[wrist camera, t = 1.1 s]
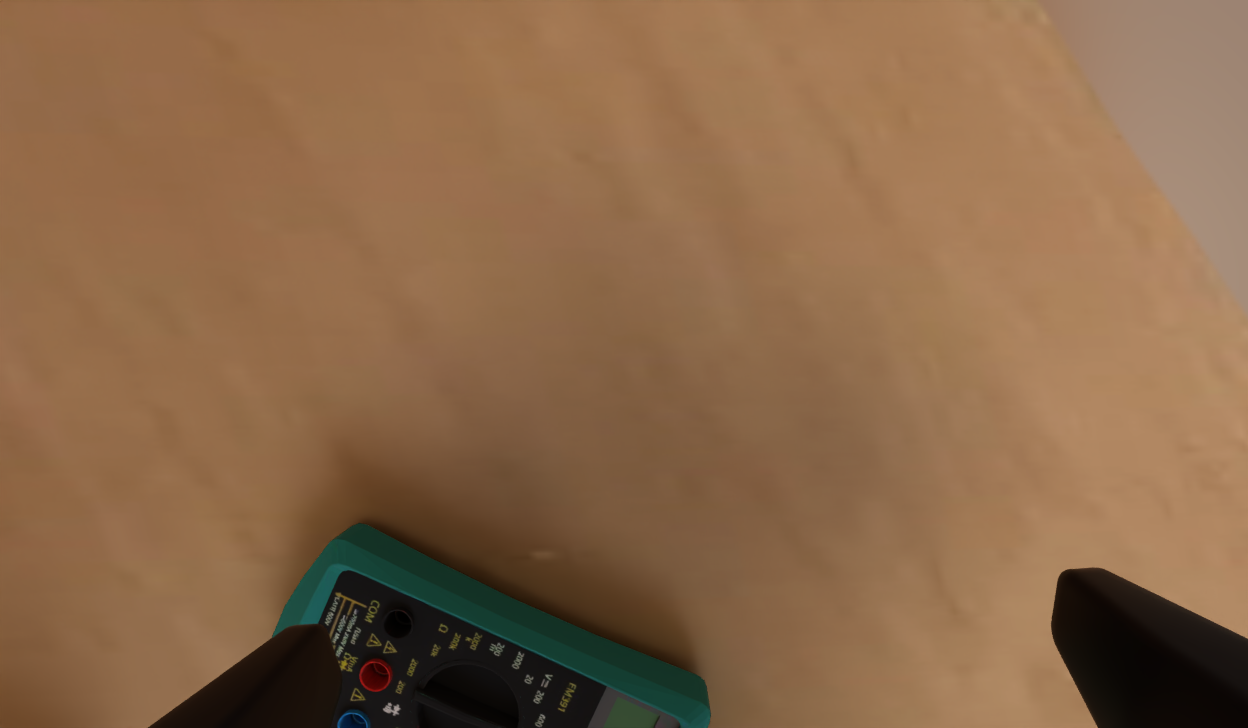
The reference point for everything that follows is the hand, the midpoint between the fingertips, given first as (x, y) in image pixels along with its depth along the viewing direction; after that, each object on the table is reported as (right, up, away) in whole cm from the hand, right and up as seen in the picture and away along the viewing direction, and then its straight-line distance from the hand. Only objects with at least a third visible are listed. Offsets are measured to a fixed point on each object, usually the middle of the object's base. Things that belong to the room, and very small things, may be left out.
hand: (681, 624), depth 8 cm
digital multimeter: (-5, -9, +17) cm, 20 cm away
